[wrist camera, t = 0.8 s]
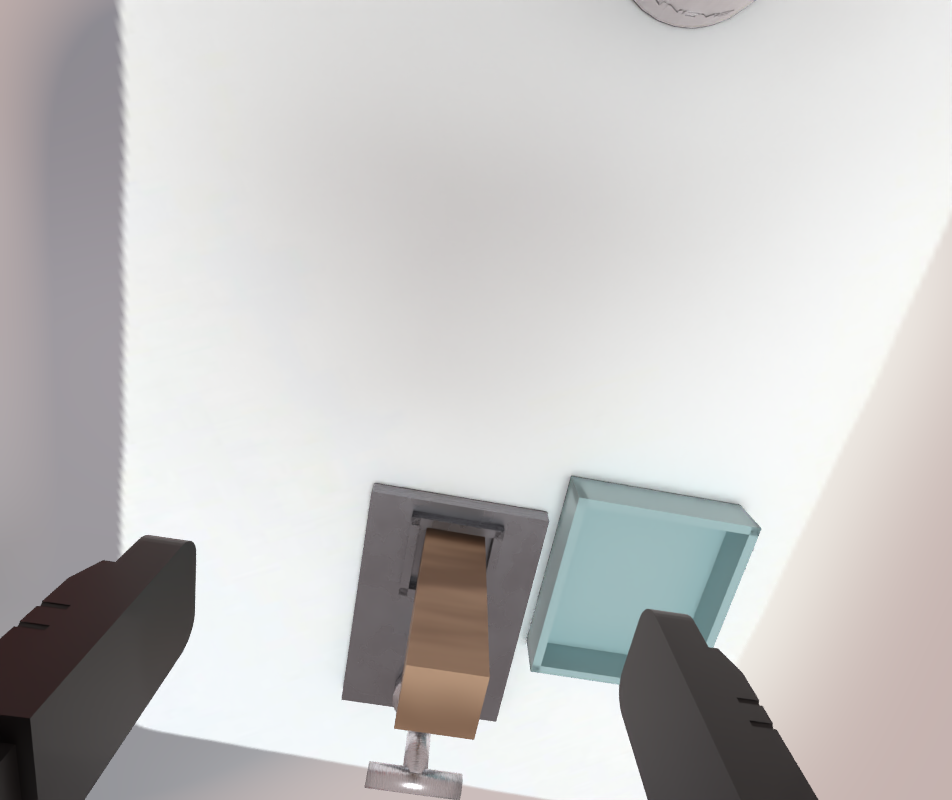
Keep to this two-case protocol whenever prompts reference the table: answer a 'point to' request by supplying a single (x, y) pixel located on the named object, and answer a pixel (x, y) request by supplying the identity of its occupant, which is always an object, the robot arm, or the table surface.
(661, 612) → the robot arm
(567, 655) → the tray
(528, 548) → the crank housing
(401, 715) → the tall brown wooden block
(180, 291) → the table surface
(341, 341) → the table surface
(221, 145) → the table surface
